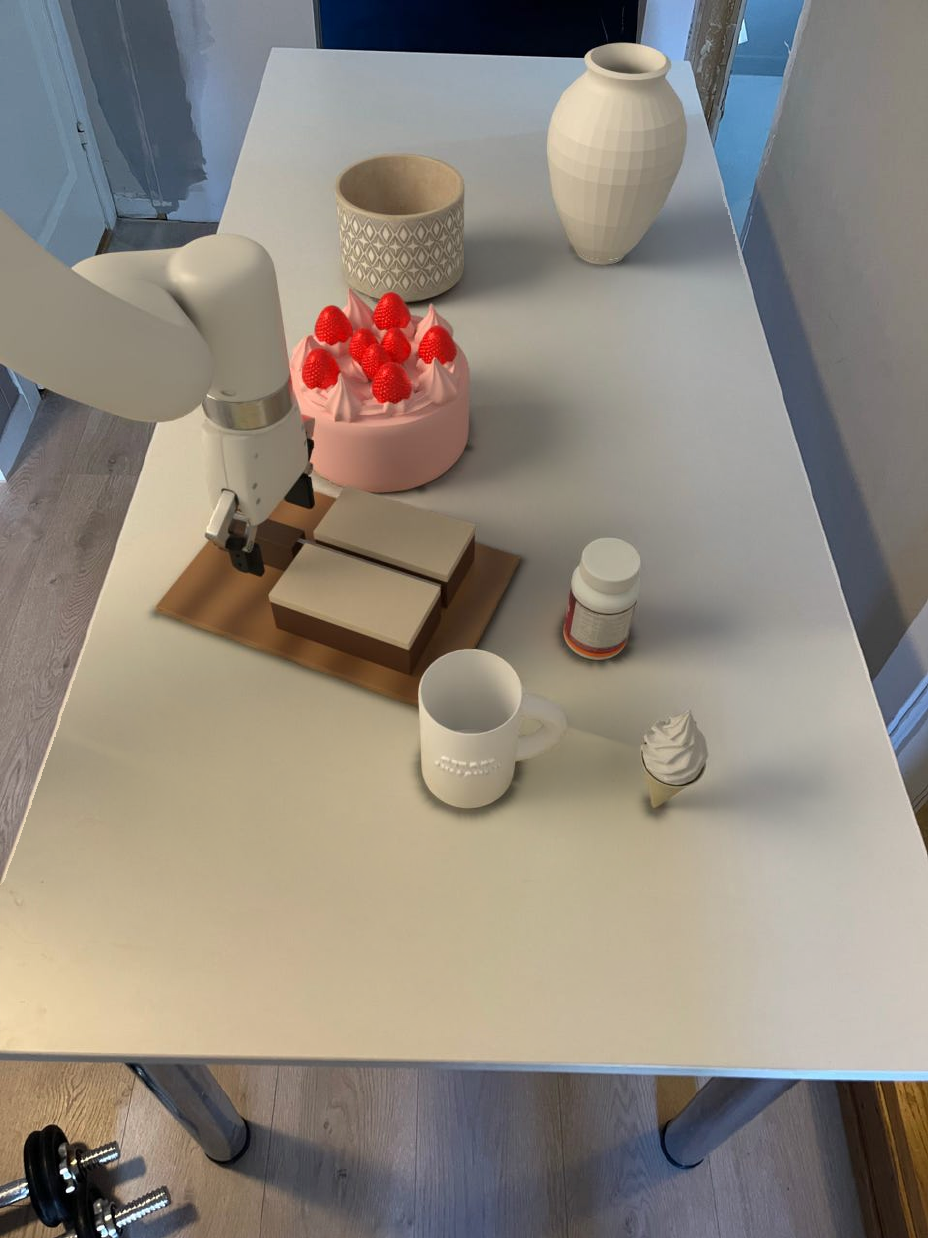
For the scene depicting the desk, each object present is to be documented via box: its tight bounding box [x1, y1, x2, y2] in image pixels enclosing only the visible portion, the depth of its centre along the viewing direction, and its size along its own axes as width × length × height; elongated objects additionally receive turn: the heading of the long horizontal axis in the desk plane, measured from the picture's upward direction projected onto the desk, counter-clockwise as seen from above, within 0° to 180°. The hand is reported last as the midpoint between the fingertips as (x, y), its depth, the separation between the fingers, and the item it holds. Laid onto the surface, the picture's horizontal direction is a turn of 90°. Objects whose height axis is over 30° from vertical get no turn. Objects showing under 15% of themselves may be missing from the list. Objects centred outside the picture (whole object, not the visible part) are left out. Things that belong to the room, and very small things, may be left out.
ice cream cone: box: [639, 709, 709, 809], centre depth 70 cm, size 5×5×15 cm
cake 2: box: [313, 485, 477, 609], centre depth 89 cm, size 14×7×5 cm, turn 67°
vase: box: [546, 42, 688, 266], centre depth 119 cm, size 18×18×25 cm
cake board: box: [155, 490, 520, 709], centre depth 90 cm, size 30×20×1 cm, turn 67°
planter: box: [334, 153, 465, 303], centre depth 120 cm, size 16×16×13 cm
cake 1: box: [289, 287, 471, 494], centre depth 99 cm, size 20×20×14 cm
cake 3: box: [269, 543, 441, 676], centre depth 84 cm, size 14×7×5 cm, turn 67°
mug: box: [418, 648, 567, 809], centre depth 74 cm, size 8×12×12 cm
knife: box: [218, 509, 442, 610], centre depth 89 cm, size 24×3×4 cm, turn 67°
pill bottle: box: [563, 537, 642, 661], centre depth 83 cm, size 6×6×11 cm
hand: (275, 535), depth 88 cm, fingers open, 9 cm apart
